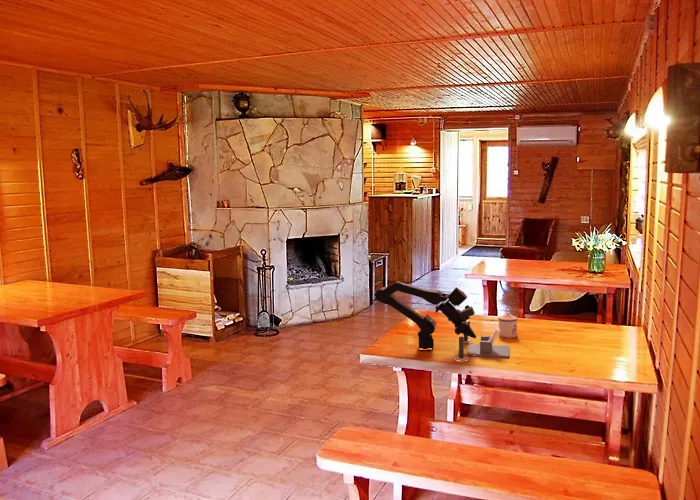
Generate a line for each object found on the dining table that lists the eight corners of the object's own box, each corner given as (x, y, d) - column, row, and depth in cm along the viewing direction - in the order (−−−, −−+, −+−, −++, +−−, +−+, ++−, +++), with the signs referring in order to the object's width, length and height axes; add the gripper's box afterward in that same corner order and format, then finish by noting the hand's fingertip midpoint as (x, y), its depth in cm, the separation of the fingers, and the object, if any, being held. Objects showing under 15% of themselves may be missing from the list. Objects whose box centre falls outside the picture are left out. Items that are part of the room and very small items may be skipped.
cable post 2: (460, 344, 273) (459, 323, 272) (458, 340, 279) (458, 320, 278) (472, 344, 273) (472, 323, 272) (471, 340, 279) (471, 320, 278)
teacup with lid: (515, 338, 280) (516, 315, 279) (496, 337, 284) (496, 314, 283) (519, 332, 291) (519, 310, 290) (500, 331, 295) (501, 308, 293)
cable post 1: (454, 362, 247) (454, 339, 246) (453, 357, 253) (453, 335, 252) (469, 362, 246) (469, 339, 245) (467, 357, 252) (467, 335, 251)
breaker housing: (467, 356, 255) (466, 342, 254) (469, 346, 270) (469, 333, 269) (509, 358, 250) (509, 344, 249) (509, 347, 265) (509, 335, 265)
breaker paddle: (484, 348, 257) (496, 329, 255) (485, 344, 263) (496, 326, 261) (488, 350, 257) (499, 331, 255) (488, 346, 263) (499, 328, 260)
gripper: (462, 305, 251) (488, 331, 250) (465, 296, 269) (489, 321, 267) (444, 322, 254) (469, 347, 253) (448, 312, 272) (472, 336, 270)
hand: (475, 337), depth 261 cm, fingers closed
